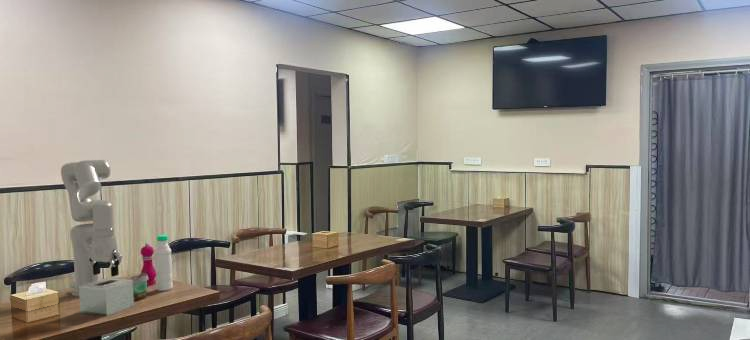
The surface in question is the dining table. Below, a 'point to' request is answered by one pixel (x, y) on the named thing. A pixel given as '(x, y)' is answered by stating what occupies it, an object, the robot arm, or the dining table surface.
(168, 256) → the water bottle
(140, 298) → the half-round slice
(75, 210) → the robot arm
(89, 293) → the box
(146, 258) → the pepper mill
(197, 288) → the dining table surface
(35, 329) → the dining table surface
